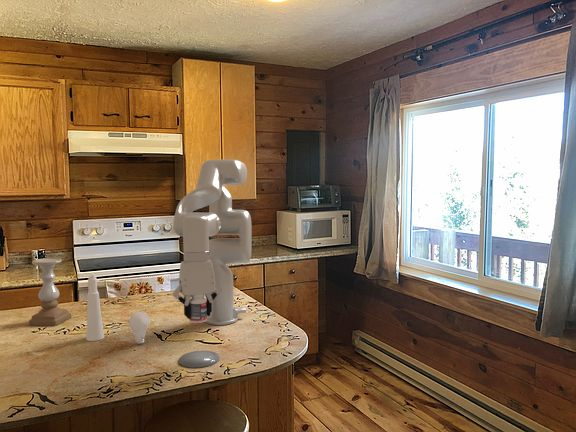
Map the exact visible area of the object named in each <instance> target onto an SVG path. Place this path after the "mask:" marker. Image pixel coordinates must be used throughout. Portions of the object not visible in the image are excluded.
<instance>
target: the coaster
mask: <svg viewBox="0 0 576 432" xmlns="http://www.w3.org/2000/svg"><path fill="white" fill-rule="evenodd" d="M178 360H179V361H178V363H179V365H180V366H182V367H185V368H190V369H200V368H207V367H210V366H212V365H215V364H217V363H218V362H219V361H220V355H219V354H218V353H217V352H214V351H211V350H194V351H189V352H186V353H183V354H182V355H181V356H180V357H179V359H178Z"/></svg>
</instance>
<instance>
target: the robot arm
mask: <svg viewBox="0 0 576 432" xmlns="http://www.w3.org/2000/svg"><path fill="white" fill-rule="evenodd" d="M247 168H248V167H247V166H246V164H245V163H244V162H243V161H241V160H238V159H229V158H228V159H209V160H206V161H204V162H203V164H201V167H200V171H199V175H198V178H197V184H196V188H195V189H193V190H192V191H190V192H188V193H187V194H186V195H185V196H183V198H182V199H181V200H180V201H179V202H178V204H177V206H176V209H175V213H174V217H173V224H172V227H173V231H174V233H175V234H176V235H177V236H178V237H182V239H183V261H181V262H180V265H179V275H178V286H177V287H176V288H175V289H174V291H173V292H172V296H173V297H174V298H175V299H177V300H178V301H179V302H180V303H182V304H183V315H184V316H185V317H186V319H188V320H189V319H190V318H191V307H190V305H189V301H190V299H191V298H192V297H191V296H194V295H198V294H205V295H204V297H205V298H206V300H207V320H206V321H205V323H206V324H208V325H213V326H224V325H230V324H234V323H236V322H237V321H239V314H245V313H246V312H247V309H246V308H245V307H243V308H241V307H235V306H234V302H235V301H234V274H233V271H232V269H231V268H230V267H229V266H228V265H230V264H234V265H235V264H236V265H237V264H239V265H240V264H242V265H243V264H247V263H250V261H251V259H252V250H253V249H252V246H253V245H252V243H253V242H252V234H253V233H252V229H253V228H252V227H253V226H252V217H251V213H250V212H249V211H248V210H246V209H233V197H232V194H231V193H230V192H229V190H228V189H227V188H226V186H243V185H245V183H246V182H247V180H248V169H247ZM208 206H209V210H208V211H209V212H199V211H197V210H199V209H203V208H205V207H208ZM194 211H195V212H194ZM196 211H197V212H196ZM216 235H219V236H220V235H221V236H222V235H225V236H228V235H233V236H234V235H236V236H238V237H239V238H238V237H236V238H234V237H233V238H229V237H226V238H225V237H220V238H219V237H218V238H212V239H210V238H211V237H214V236H216ZM209 237H210V238H209ZM180 294H182V295H183V297H182V296H181V295H180Z"/></svg>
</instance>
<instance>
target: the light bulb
mask: <svg viewBox="0 0 576 432" xmlns="http://www.w3.org/2000/svg"><path fill="white" fill-rule="evenodd" d="M150 321H151V320H150V316H149V315H148V314H147V313H146V312H144V311H141V310H140V311H136V312H133V313H132V314H131V315H130V316H129V319H128V326H129V328H130V329H131V330H132V332H133V335H134V338H135V339H134V340H135V343H136V344H137V345H142V344H144V343H145V338H146V337H145V336H146V333H147V332H146V331H147V329H148V328H149V326H150V324H151V323H150Z"/></svg>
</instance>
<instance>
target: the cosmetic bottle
mask: <svg viewBox="0 0 576 432" xmlns="http://www.w3.org/2000/svg"><path fill="white" fill-rule="evenodd" d="M87 287H88V288H87V289H88V292H87V294H86V295H87V297H86V305H87V307H86V310H87V311H86V314H87V315H86V318H87V320H86V336H85V341H87V342H96V341H102V340H103V339H104V338H105V332H104V328H103V327H104V326H103V320H102V313H101V302H100V300H101V299H100V293H99V292H100V291H98V279H97V275H96V274H90V275H89V276H88V279H87Z"/></svg>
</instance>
